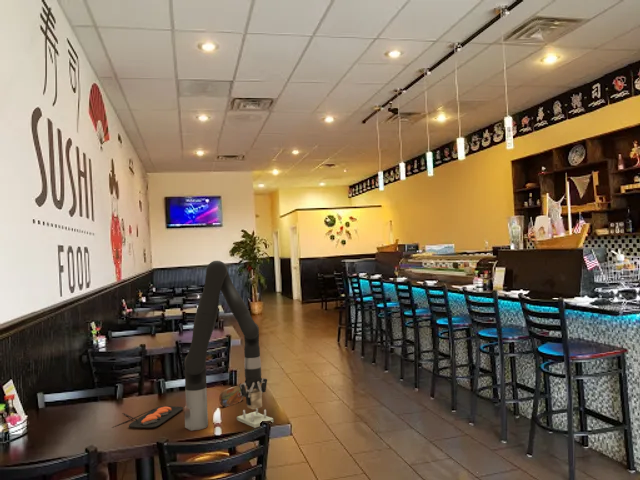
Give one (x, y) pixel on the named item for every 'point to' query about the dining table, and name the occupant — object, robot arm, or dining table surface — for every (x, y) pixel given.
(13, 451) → the dining table surface
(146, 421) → the sushi plate
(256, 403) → the maple block
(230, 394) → the tin
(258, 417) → the plate
